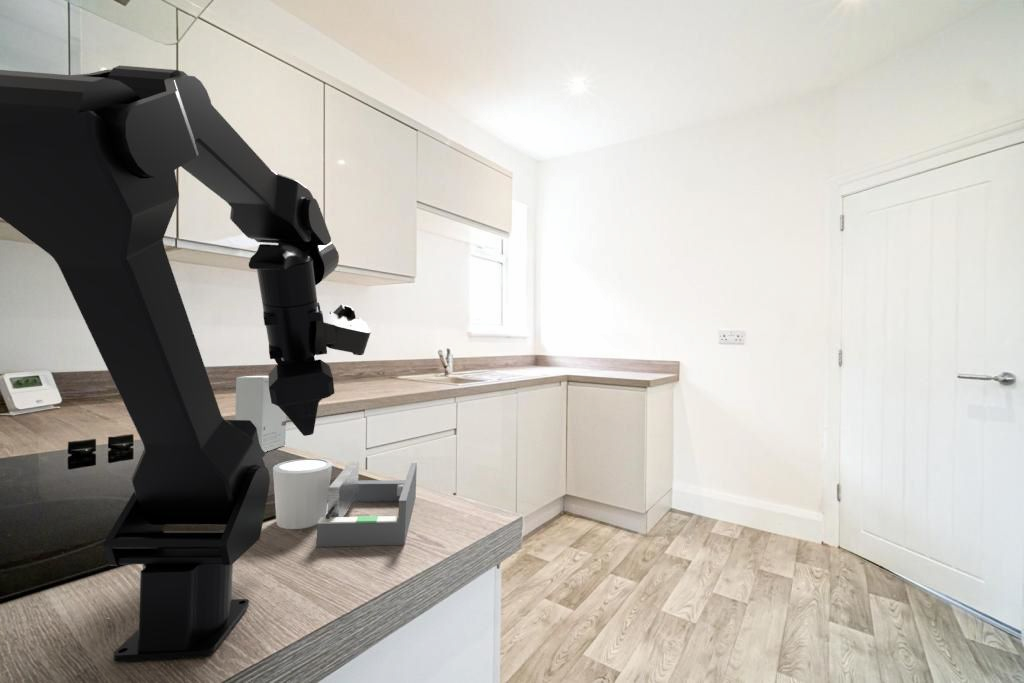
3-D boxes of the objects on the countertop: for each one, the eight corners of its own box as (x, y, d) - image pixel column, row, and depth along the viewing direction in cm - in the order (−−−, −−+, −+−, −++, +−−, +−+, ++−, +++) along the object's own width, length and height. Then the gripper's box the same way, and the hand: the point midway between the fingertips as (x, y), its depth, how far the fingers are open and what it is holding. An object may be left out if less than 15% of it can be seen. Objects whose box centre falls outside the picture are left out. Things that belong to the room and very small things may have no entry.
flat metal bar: (332, 534, 50) (334, 494, 50) (321, 534, 50) (322, 494, 50) (357, 493, 63) (358, 461, 63) (348, 493, 63) (350, 461, 63)
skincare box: (260, 455, 87) (263, 377, 87) (231, 453, 87) (234, 376, 87) (286, 445, 95) (289, 374, 95) (259, 443, 96) (262, 373, 96)
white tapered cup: (308, 534, 53) (310, 474, 53) (257, 527, 54) (259, 469, 54) (341, 512, 60) (343, 460, 60) (295, 507, 61) (297, 455, 61)
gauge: (404, 544, 51) (406, 500, 51) (316, 546, 50) (318, 501, 50) (415, 497, 66) (416, 463, 66) (348, 497, 65) (349, 463, 65)
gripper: (378, 319, 48) (384, 441, 54) (350, 274, 63) (358, 374, 69) (258, 331, 43) (281, 464, 49) (260, 279, 58) (277, 386, 64)
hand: (305, 415), depth 58 cm, fingers open, 9 cm apart
